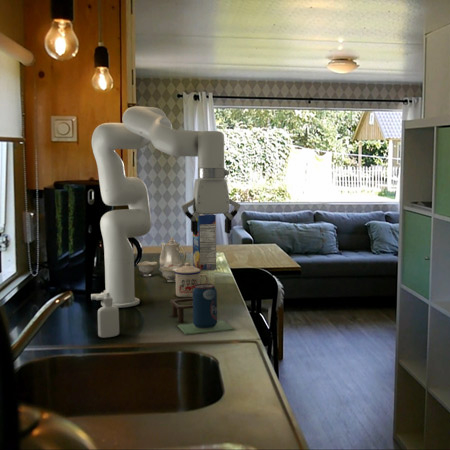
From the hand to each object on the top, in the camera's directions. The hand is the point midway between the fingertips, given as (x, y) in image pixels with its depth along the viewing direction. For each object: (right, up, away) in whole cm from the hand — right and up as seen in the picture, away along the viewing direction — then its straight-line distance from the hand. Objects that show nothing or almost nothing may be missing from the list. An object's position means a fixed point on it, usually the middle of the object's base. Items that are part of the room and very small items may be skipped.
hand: (211, 233), depth 187 cm
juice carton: (-12, -17, +100) cm, 102 cm away
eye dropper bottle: (-27, -28, -9) cm, 40 cm away
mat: (-2, -27, -1) cm, 27 cm away
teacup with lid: (-11, -23, +44) cm, 50 cm away
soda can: (-2, -27, -1) cm, 27 cm away
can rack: (-7, -26, +11) cm, 29 cm away
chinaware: (-26, -19, +78) cm, 84 cm away
